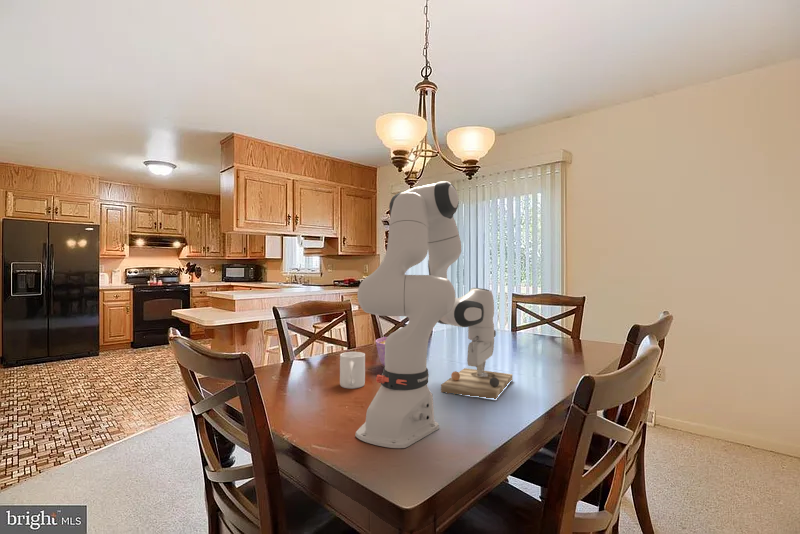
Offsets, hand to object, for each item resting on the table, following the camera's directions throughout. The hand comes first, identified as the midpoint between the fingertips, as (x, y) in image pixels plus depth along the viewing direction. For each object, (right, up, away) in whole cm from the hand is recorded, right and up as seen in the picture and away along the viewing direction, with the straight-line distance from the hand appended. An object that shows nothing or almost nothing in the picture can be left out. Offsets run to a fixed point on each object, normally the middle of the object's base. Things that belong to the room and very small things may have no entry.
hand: (480, 373), depth 139 cm
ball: (+2, -2, +3) cm, 4 cm away
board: (-1, -4, -3) cm, 5 cm away
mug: (-45, -4, -4) cm, 45 cm away
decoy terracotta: (-9, 0, -4) cm, 10 cm away
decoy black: (+2, 0, -11) cm, 11 cm away
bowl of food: (-28, -4, +19) cm, 35 cm away
